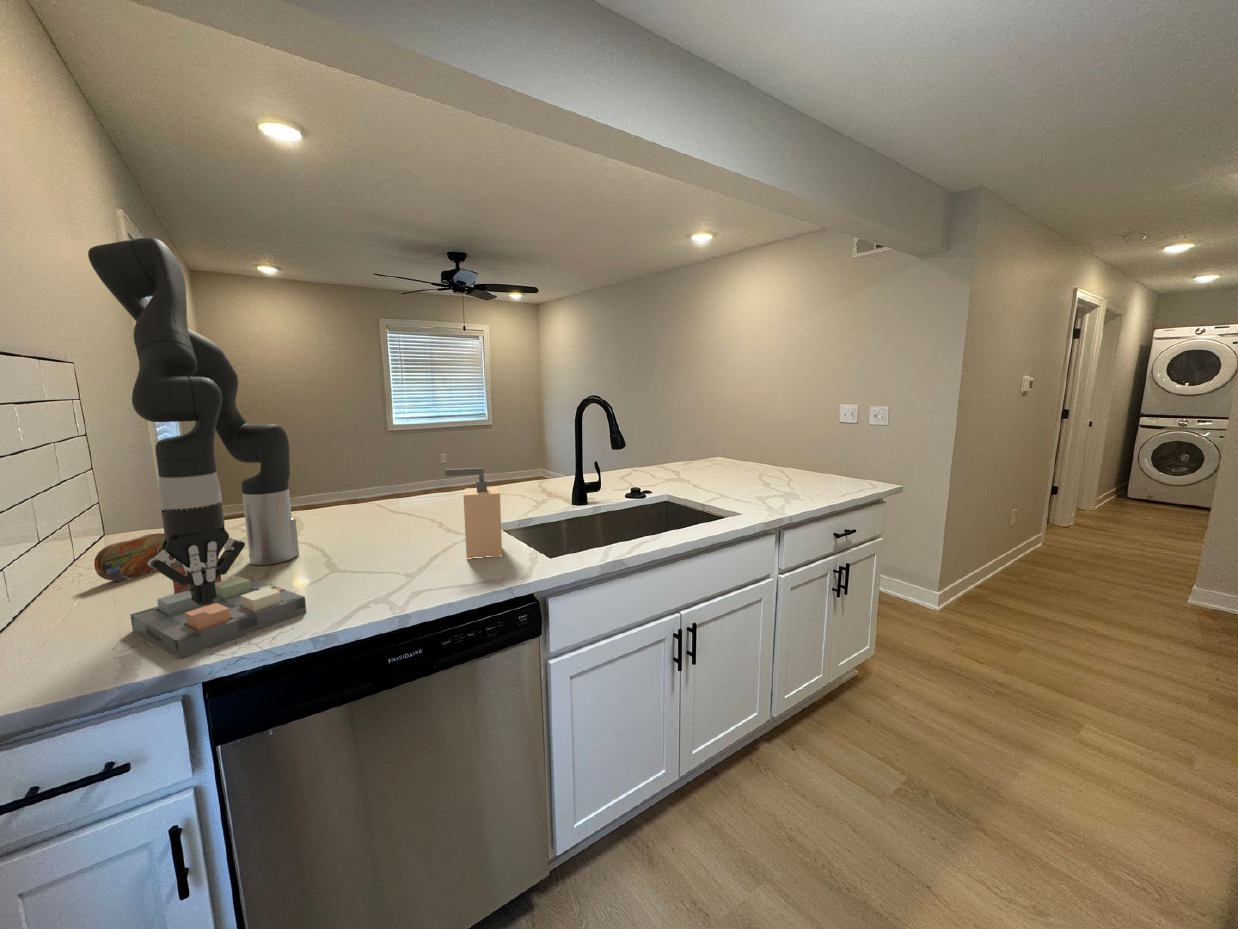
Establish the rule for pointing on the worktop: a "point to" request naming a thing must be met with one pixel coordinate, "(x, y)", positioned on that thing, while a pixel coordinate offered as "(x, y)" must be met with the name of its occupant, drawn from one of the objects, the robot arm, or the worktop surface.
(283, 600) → the keypad
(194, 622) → the terracotta key
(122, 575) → the tin
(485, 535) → the soap dispenser
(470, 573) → the worktop surface
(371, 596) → the worktop surface
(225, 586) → the sage key
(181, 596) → the slate key
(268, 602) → the cream key
